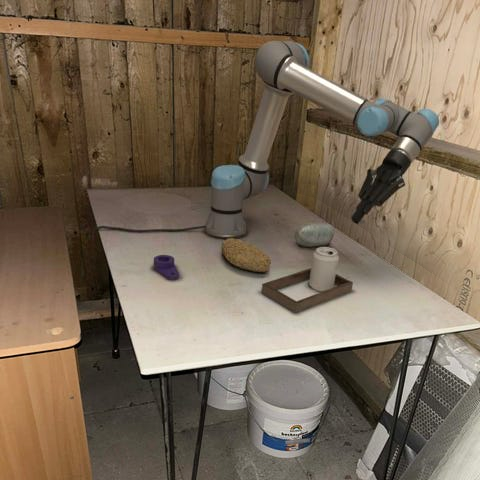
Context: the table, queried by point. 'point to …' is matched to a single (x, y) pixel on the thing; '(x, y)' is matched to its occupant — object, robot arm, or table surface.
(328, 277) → the can
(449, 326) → the table surface
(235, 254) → the sponge
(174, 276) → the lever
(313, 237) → the streaked grey-green pebble
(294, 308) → the walnut frame
